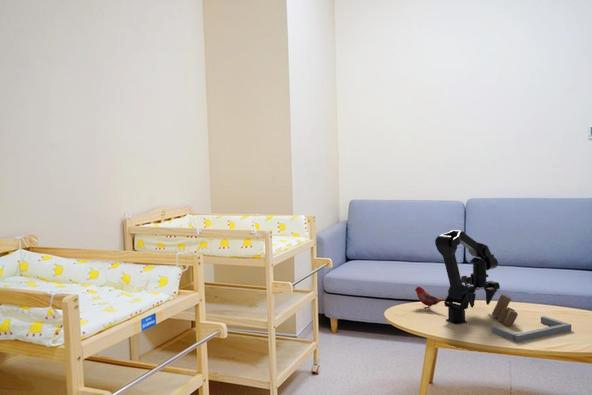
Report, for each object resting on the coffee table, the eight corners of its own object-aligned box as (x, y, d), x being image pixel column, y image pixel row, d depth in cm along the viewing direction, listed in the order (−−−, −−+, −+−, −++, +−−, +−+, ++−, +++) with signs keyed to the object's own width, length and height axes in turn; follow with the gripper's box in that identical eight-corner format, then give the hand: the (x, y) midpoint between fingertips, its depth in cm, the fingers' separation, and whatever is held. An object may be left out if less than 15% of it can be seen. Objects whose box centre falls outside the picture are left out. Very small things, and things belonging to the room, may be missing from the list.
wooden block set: (514, 332, 214) (525, 311, 212) (493, 323, 216) (504, 302, 214) (508, 317, 231) (518, 297, 229) (490, 309, 233) (499, 289, 231)
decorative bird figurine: (416, 305, 250) (416, 285, 249) (449, 312, 237) (449, 290, 236) (413, 306, 248) (412, 286, 247) (446, 313, 235) (445, 292, 234)
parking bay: (517, 342, 196) (517, 336, 195) (491, 332, 207) (491, 326, 207) (571, 330, 207) (571, 324, 207) (544, 321, 219) (544, 316, 219)
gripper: (482, 266, 243) (482, 299, 244) (451, 271, 236) (451, 304, 237) (500, 270, 233) (500, 304, 234) (468, 275, 226) (468, 310, 227)
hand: (479, 305), depth 233 cm, fingers open, 9 cm apart
